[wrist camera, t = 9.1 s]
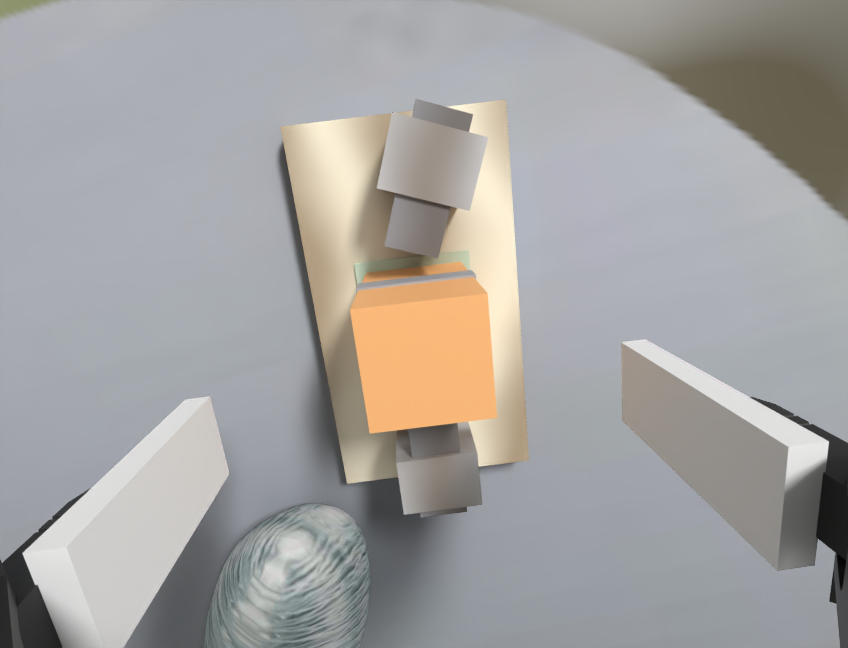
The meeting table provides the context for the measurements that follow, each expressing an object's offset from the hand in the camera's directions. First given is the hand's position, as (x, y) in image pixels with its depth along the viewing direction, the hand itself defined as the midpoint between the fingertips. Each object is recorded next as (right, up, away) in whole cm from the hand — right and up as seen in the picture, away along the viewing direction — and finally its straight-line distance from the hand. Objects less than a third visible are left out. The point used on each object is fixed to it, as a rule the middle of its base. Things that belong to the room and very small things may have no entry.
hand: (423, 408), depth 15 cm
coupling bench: (0, +4, +12) cm, 13 cm away
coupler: (0, +3, +10) cm, 11 cm away
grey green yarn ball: (-8, -14, +17) cm, 23 cm away
